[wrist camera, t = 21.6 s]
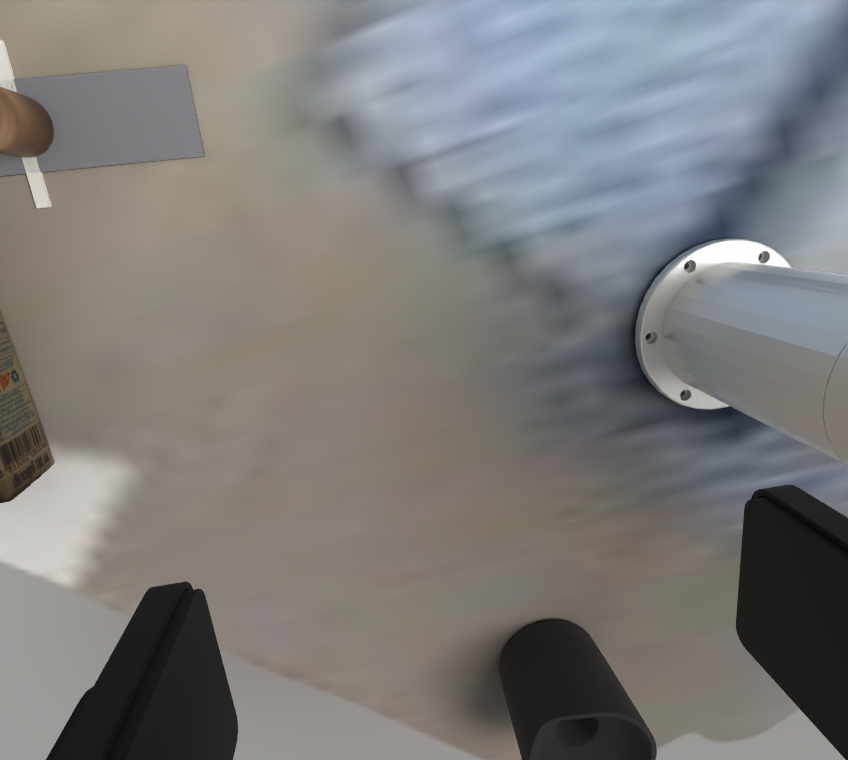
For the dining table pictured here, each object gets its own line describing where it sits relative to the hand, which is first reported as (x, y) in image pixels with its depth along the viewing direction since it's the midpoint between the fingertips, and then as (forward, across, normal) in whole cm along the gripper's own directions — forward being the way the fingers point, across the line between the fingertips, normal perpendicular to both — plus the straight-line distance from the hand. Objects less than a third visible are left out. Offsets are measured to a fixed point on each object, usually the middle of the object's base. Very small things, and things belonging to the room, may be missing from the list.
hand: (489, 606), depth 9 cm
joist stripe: (+30, +18, -14) cm, 38 cm away
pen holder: (+31, -10, +32) cm, 45 cm away
